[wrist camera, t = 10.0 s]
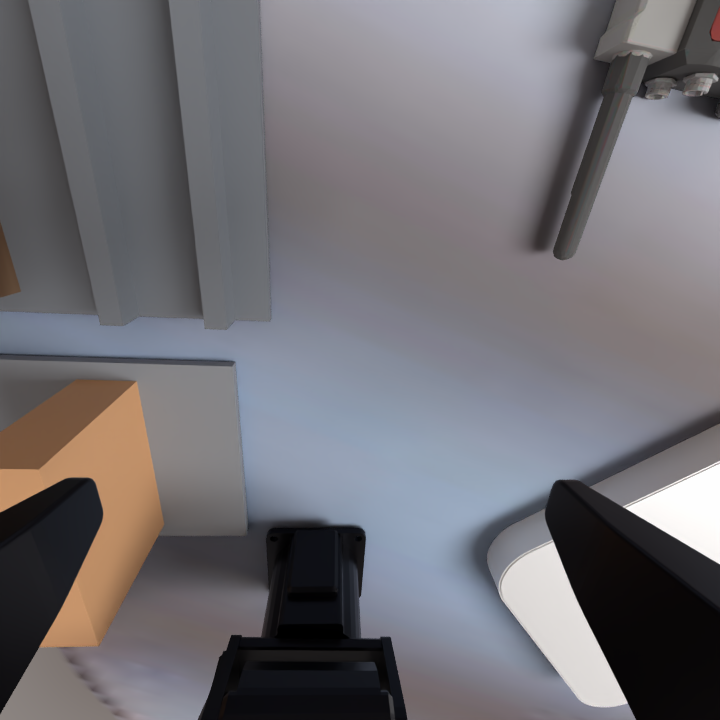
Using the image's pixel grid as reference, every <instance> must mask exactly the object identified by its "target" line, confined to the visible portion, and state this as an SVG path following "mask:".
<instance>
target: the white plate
mask: <svg viewBox="0 0 720 720" xmlns="http://www.w3.org/2000/svg"><path fill="white" fill-rule="evenodd" d="M590 488H592V489H593V490H595V491H597V492H598V493H600V494H602V495H604V496H605V497H607V498H609V499H610V500H612V501H614V502H615V503H617V504H619V505H620V506H622V507H624V508H626V509H627V510H629V511H631V512H632V513H634V514H636V515H637V516H639V517H641V518H642V519H644V520H646V521H647V522H649V523H651V524H653V525H654V526H656V527H658V528H659V529H661V530H663V531H664V532H666V533H668V534H669V535H671V536H673V537H675V538H676V539H678V540H680V541H681V542H683V543H685V544H686V545H688V546H690V547H691V548H693V549H695V550H697V551H698V552H700V553H702V554H703V555H705V556H707V557H708V558H710V559H712V560H713V561H715V562H717V563H719V564H720V424H718V425H716V426H714V427H711V428H709V429H707V430H705V431H703V432H701V433H699V434H697V435H695V436H693V437H691V438H689V439H687V440H685V441H683V442H681V443H679V444H677V445H675V446H672V447H670V448H668V449H666V450H664V451H662V452H660V453H658V454H656V455H654V456H652V457H650V458H648V459H646V460H644V461H642V462H640V463H638V464H636V465H633V466H631V467H629V468H627V469H625V470H623V471H621V472H619V473H617V474H615V475H613V476H611V477H609V478H607V479H605V480H603V481H601V482H599V483H597V484H594V485H592V486H590ZM487 564H488V567H489V570H490V572H491V575H492V577H493V580H494V582H495V584H496V587H497V589H498V592H499V594H500V597H501V599H502V600H503V602H504V603H505V604H506V606H507V607H508V608H509V609H510V611H511V612H512V613H513V615H514V616H515V617H516V619H517V620H518V621H519V622H520V624H521V625H522V626H523V628H524V629H525V630H526V631H527V633H528V634H529V635H530V637H531V638H532V639H533V641H534V642H535V643H536V644H537V646H538V647H539V648H540V650H541V651H542V652H543V653H544V655H545V656H546V657H547V659H548V660H549V661H550V663H551V664H552V665H553V666H554V668H555V669H556V670H557V672H558V673H559V674H560V676H561V677H562V678H563V679H564V681H565V682H566V683H567V685H568V686H569V687H570V688H571V690H572V691H573V692H574V694H575V695H576V696H577V698H578V699H579V700H580V701H581V702H583V703H585V704H587V705H590V706H595V707H613V706H619V705H623V704H627V703H628V702H627V700H626V698H625V696H624V694H623V692H622V690H621V688H620V686H619V684H618V682H617V680H616V678H615V676H614V674H613V672H612V670H611V668H610V666H609V664H608V662H607V660H606V658H605V656H604V654H603V652H602V650H601V648H600V646H599V644H598V642H597V640H596V638H595V636H594V634H593V632H592V630H591V628H590V626H589V624H588V622H587V620H586V618H585V616H584V614H583V612H582V610H581V608H580V606H579V604H578V601H577V599H576V597H575V595H574V592H573V590H572V588H571V585H570V583H569V580H568V577H567V575H566V572H565V570H564V567H563V565H562V562H561V560H560V557H559V554H558V552H557V549H556V547H555V544H554V542H553V539H552V536H551V534H550V531H549V529H548V526H547V524H546V520H545V509H543V510H541V511H539V512H537V513H535V514H533V515H531V516H529V517H527V518H525V519H523V520H521V521H519V522H516V523H514V524H512V525H511V526H509V527H508V528H506V529H505V530H503V531H502V532H501V533H500V534H499V535H498V536H497V537H496V538H495V539H494V541H493V542H492V544H491V545H490V547H489V550H488V553H487Z"/></svg>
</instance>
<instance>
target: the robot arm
mask: <svg viewBox="0 0 720 720" xmlns="http://www.w3.org/2000/svg"><path fill="white" fill-rule="evenodd" d="M102 520H103V507H102V504H101V500H100V497H99V493H98V490H97V486H96V483H95V481H94V480H93V479H92V478H88V477H71V478H66V479H63V480H61V481H60V482H58V483H56V484H54V485H52V486H50V487H48V488H46V489H44V490H42V491H40V492H38V493H37V494H35V495H33V496H31V497H29V498H27V499H25V500H23V501H21V502H19V503H17V504H15V505H14V506H12V507H10V508H8V509H6V510H4V511H2V512H0V713H1V712H2V710H3V708H4V707H5V705H6V703H7V701H8V700H9V698H10V696H11V695H12V693H13V691H14V689H15V688H16V686H17V684H18V682H19V681H20V679H21V677H22V676H23V674H24V672H25V670H26V669H27V667H28V665H29V663H30V662H31V660H32V659H33V657H34V655H35V653H36V652H37V650H38V648H39V647H40V645H41V643H42V641H43V640H44V638H45V636H46V635H47V633H48V631H49V629H50V628H51V626H52V624H53V622H54V621H55V619H56V617H57V615H58V613H59V612H60V610H61V608H62V606H63V604H64V602H65V600H66V598H67V596H68V594H69V592H70V590H71V588H72V586H73V584H74V581H75V579H76V577H77V575H78V573H79V571H80V569H81V566H82V564H83V562H84V560H85V558H86V556H87V554H88V552H89V549H90V547H91V545H92V543H93V541H94V539H95V537H96V534H97V532H98V530H99V528H100V526H101V523H102ZM545 520H546V524H547V526H548V529H549V531H550V534H551V536H552V539H553V542H554V544H555V547H556V549H557V552H558V554H559V557H560V560H561V562H562V565H563V567H564V570H565V572H566V575H567V577H568V580H569V583H570V585H571V588H572V590H573V592H574V595H575V597H576V599H577V601H578V604H579V606H580V608H581V610H582V612H583V614H584V616H585V618H586V620H587V622H588V624H589V626H590V628H591V630H592V632H593V634H594V636H595V638H596V640H597V642H598V644H599V646H600V648H601V650H602V652H603V654H604V656H605V658H606V660H607V662H608V664H609V666H610V668H611V670H612V672H613V674H614V676H615V678H616V680H617V682H618V684H619V686H620V688H621V690H622V692H623V694H624V696H625V698H626V700H627V702H628V704H629V706H630V708H631V710H632V712H633V714H634V716H635V718H636V720H720V564H719V563H717V562H715V561H713V560H712V559H710V558H708V557H707V556H705V555H703V554H702V553H700V552H698V551H697V550H695V549H693V548H691V547H690V546H688V545H686V544H685V543H683V542H681V541H680V540H678V539H676V538H675V537H673V536H671V535H669V534H668V533H666V532H664V531H663V530H661V529H659V528H658V527H656V526H654V525H653V524H651V523H649V522H647V521H646V520H644V519H642V518H641V517H639V516H637V515H636V514H634V513H632V512H631V511H629V510H627V509H626V508H624V507H622V506H620V505H619V504H617V503H615V502H614V501H612V500H610V499H609V498H607V497H605V496H604V495H602V494H600V493H598V492H597V491H595V490H593V489H592V488H590V487H588V486H587V485H585V484H583V483H582V482H580V481H577V480H557V481H556V482H555V483H554V484H553V486H552V489H551V493H550V496H549V499H548V502H547V505H546V508H545ZM274 536H276V537H274ZM357 536H359V537H357ZM365 542H366V535H365V531H364V530H363V529H359V528H273V529H270V530H269V531H268V533H267V538H266V543H267V561H268V579H269V596H268V602H267V607H266V613H265V618H264V624H263V630H262V635H261V637H242V635H231V638H230V641H229V644H228V647H227V650H226V651H223V654H222V656H220V657H219V661H218V665H217V668H216V672H215V676H214V680H213V683H212V687H211V690H210V693H209V696H208V698H207V700H206V703H205V705H204V707H203V709H202V711H201V714H200V716H199V718H198V720H407V715H406V709H405V704H404V699H403V694H402V690H401V685H400V680H399V675H398V670H397V666H396V661H395V656H394V651H393V647H392V642H391V637H380V639H369V638H361V628H360V608H359V598H360V596H361V589H362V577H363V566H364V554H365Z"/></svg>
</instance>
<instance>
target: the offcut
mask: <svg viewBox="0 0 720 720" xmlns="http://www.w3.org/2000/svg"><path fill="white" fill-rule="evenodd" d="M18 292H21V289H20V286H19V283H18V279H17V276H16V272H15V269H14V266H13V262H12V259H11V256H10V252H9V249H8V246H7V242H6V239H5V236H4V232H3V229H2V225H1V222H0V298H1V297H4V296H8V295H11V294H15V293H18Z"/></svg>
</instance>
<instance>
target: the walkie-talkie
mask: <svg viewBox="0 0 720 720" xmlns="http://www.w3.org/2000/svg"><path fill="white" fill-rule="evenodd" d="M594 59H595V60H599V61H603V62H608V63H611V65H610V68H609V71H608V74H607V77H606V80H605V83H604V86H603V89H602V92H601V93H602V95H603V97H604V98H603V101H602V104H601V107H600V110H599V112H598V115H597V118H596V121H595V124H594V127H593V130H592V133H591V136H590V139H589V142H588V145H587V147H586V150H585V153H584V156H583V159H582V162H581V165H580V168H579V171H578V174H577V177H576V180H575V183H574V185H573V188H572V191H571V198H570V201H569V204H568V207H567V210H566V213H565V216H564V219H563V222H562V225H561V228H560V231H559V234H558V237H557V240H556V243H555V246H554V250H553V253H554V256H555V257H556V258H557V259H560V260H566V259H569V258H571V257H573V255H574V254H575V253H576V250H577V247H578V245H579V242H580V239H581V236H582V234H583V231H584V228H585V225H586V223H587V220H588V217H589V214H590V212H591V209H592V206H593V204H594V201H595V198H596V195H597V193H598V190H599V187H600V184H601V182H602V179H603V176H604V173H605V171H606V168H607V165H608V162H609V160H610V157H611V154H612V151H613V149H614V146H615V143H616V140H617V138H618V135H619V132H620V129H621V127H622V124H623V121H624V118H625V116H626V113H627V110H628V107H629V105H630V102H631V99H632V97H634V96H635V95H636V94H637V93H638V90H639V87H640V84H641V82H644V83H645V86H647V87H648V89H647V92H646V95H645V98H647V99H651V100H656V99H663V98H664V96H665V98H666V97H668V95H669V92H670V90H671V88H672V89H676V90H681V91H683V93H682V94H683V95H685V96H702V95H704V96H708V97H713V98H718V99H720V0H616V3H615V6H614V9H613V12H612V15H611V18H610V21H609V24H608V27H607V30H606V32H605V33H604V35H603V36H602V37H601V38H600V41H599V44H598V47H597V50H596V53H595V56H594ZM715 115H716V116H717V117H718V118H720V103H718V106H717V108H716V110H715Z"/></svg>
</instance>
